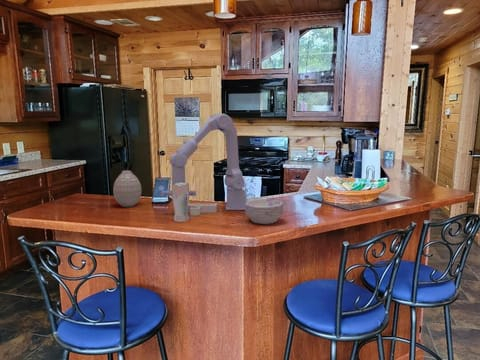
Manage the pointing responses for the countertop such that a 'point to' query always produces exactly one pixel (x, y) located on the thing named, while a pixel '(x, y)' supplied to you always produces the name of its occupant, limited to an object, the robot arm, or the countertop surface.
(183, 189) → the beer glass
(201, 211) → the white striped box
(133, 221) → the countertop surface
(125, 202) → the vase
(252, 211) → the paper bowls
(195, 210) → the stub
